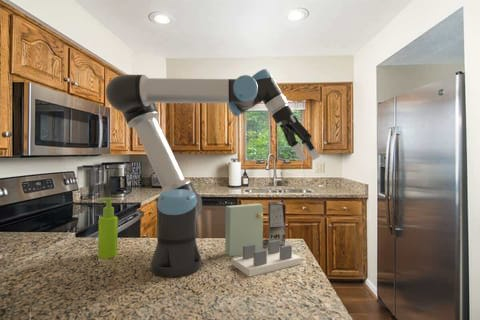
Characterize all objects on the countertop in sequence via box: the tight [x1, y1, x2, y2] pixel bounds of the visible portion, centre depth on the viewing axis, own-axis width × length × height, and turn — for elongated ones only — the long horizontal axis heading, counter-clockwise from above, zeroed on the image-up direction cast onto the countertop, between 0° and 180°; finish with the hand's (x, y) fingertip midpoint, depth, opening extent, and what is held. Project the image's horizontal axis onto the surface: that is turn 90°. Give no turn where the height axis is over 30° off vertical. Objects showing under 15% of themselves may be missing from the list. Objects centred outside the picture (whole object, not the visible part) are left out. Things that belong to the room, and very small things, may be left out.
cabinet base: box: [231, 240, 302, 278], centre depth 85 cm, size 20×10×6 cm, turn 121°
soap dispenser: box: [96, 197, 119, 260], centre depth 91 cm, size 6×7×20 cm
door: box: [224, 203, 264, 257], centre depth 97 cm, size 14×5×17 cm, turn 121°
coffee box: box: [267, 201, 287, 246], centre depth 110 cm, size 9×6×16 cm
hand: (309, 159), depth 98 cm, fingers open, 13 cm apart
